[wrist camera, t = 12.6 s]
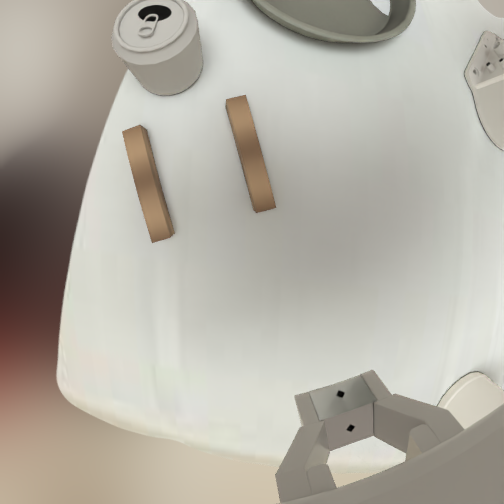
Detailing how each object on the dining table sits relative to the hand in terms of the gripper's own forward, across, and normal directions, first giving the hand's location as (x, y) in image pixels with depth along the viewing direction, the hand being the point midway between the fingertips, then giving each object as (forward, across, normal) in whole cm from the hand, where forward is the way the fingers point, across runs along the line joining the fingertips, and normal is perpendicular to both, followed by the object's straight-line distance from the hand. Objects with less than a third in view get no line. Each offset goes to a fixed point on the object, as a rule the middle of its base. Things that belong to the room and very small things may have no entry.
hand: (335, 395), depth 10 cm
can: (+27, +5, -22) cm, 35 cm away
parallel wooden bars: (+26, +4, -9) cm, 28 cm away
